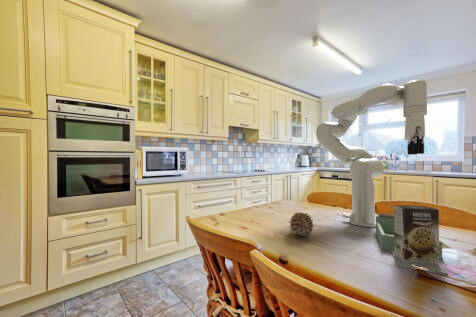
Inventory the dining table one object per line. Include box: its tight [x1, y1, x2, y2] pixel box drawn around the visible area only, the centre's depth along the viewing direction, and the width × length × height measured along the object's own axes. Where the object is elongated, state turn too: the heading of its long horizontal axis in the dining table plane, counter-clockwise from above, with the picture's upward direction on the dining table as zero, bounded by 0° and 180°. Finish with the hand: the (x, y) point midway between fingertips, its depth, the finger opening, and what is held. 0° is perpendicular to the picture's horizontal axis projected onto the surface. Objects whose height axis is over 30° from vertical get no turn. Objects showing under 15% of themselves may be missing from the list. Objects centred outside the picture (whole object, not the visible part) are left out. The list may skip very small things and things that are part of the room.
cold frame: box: [375, 213, 443, 259], centre depth 82 cm, size 16×20×8 cm
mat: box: [390, 250, 449, 276], centre depth 67 cm, size 11×12×1 cm
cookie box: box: [394, 204, 440, 265], centre depth 67 cm, size 9×6×16 cm
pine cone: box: [289, 211, 315, 237], centre depth 94 cm, size 22×10×10 cm, turn 175°
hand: (415, 154), depth 90 cm, fingers open, 9 cm apart
